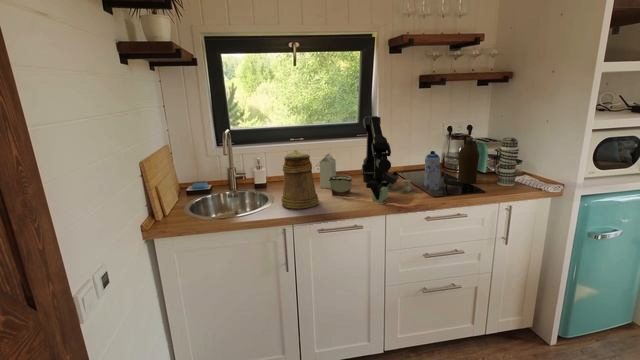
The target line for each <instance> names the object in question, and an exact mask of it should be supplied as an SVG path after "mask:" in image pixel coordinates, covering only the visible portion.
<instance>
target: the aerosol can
mask: <svg viewBox="0 0 640 360" xmlns="http://www.w3.org/2000/svg"><path fill="white" fill-rule="evenodd" d="M440 162H441V157H440V156H439V154H437V153H436V151H434V150H431V151H430V153H428V154H427V155H426V156H425V158H424V182H423V183H424V184H423V185H424V186H425V187H428V188H426V190H428V189H430V190H431V191H435V190H439V189H440V187H439V186H440V170H441V169H440V166H441V163H440ZM430 190H429V191H430Z"/></svg>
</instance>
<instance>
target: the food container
mask: <svg viewBox="0 0 640 360" xmlns="http://www.w3.org/2000/svg"><path fill="white" fill-rule="evenodd" d="M329 181H330V184H331V188H330V190H331V196H332V197H340V198H341V197H342V198H351V186H352V182H353V179H352V176H350V175H345V174H342V175H341V174H336V176H331V177H330V178H329Z"/></svg>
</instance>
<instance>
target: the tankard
mask: <svg viewBox="0 0 640 360" xmlns="http://www.w3.org/2000/svg"><path fill="white" fill-rule="evenodd" d="M310 157H311V156H310V155H309V153H302V152H298V150H297V149H294V150H293V152H291V153H288V154H285V156H284V164H282V172H283V185H282V187H283V188H282V196H281V205H282V207H285V208H288V209H295V210H296V209H308V208H312V207H315V206H317V205H318V204H319V202H320V200H319V197H318V193H316V187H315V186H316V185H315V181H314V176H313V171H312V169H313V164H312V162H311V159H310Z"/></svg>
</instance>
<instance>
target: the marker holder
mask: <svg viewBox="0 0 640 360" xmlns="http://www.w3.org/2000/svg"><path fill="white" fill-rule="evenodd" d="M420 190H421V189H420V188H416V187H415V188H413V187H411V180H410V179H404V180H402V186H396V185H392V188H390V189H389V190H388V193H392V194H399V195H406V196H407V195H408V196H413V195H415V194H416V193H417V192H418V191H420Z"/></svg>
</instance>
